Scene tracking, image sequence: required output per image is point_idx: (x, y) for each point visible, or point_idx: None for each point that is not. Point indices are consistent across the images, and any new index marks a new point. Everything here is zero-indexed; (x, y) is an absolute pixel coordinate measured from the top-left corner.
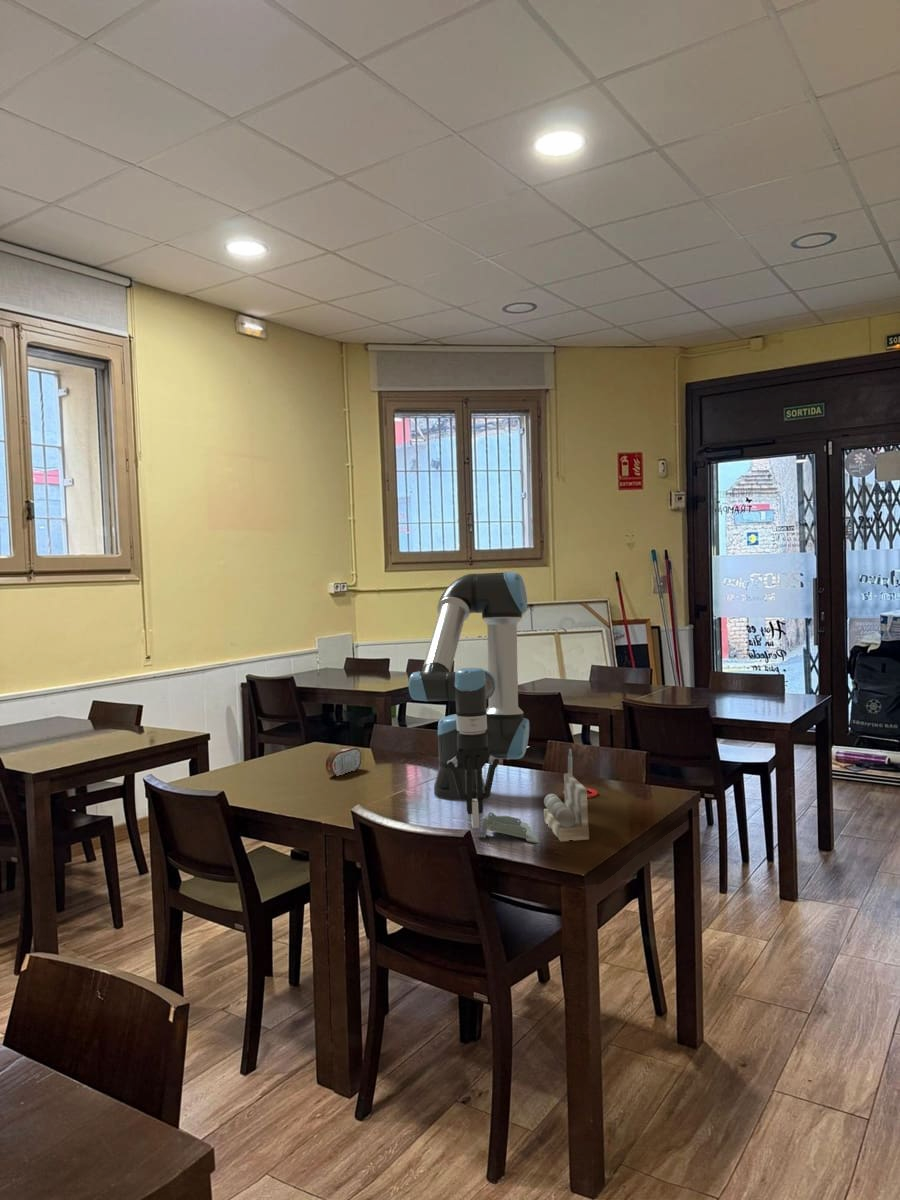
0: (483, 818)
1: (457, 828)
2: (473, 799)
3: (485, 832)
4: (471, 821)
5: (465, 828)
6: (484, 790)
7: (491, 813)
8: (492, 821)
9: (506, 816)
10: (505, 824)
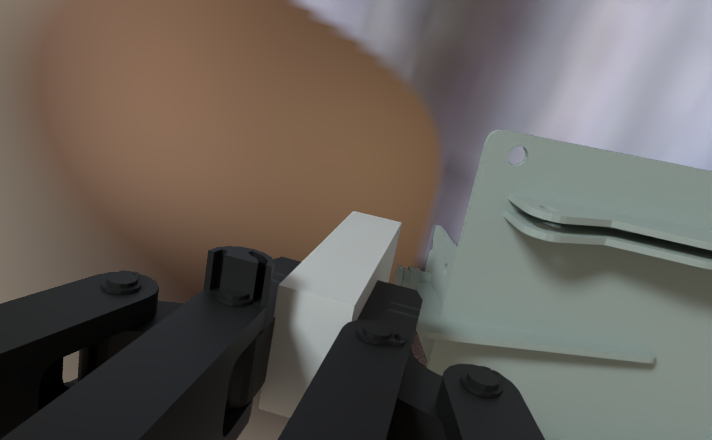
0: (472, 195)
1: (315, 5)
2: (306, 317)
3: (422, 336)
4: (346, 218)
5: (372, 30)
6: (446, 434)
7: (551, 238)
8: (499, 342)
9: (700, 265)
10: (646, 275)
